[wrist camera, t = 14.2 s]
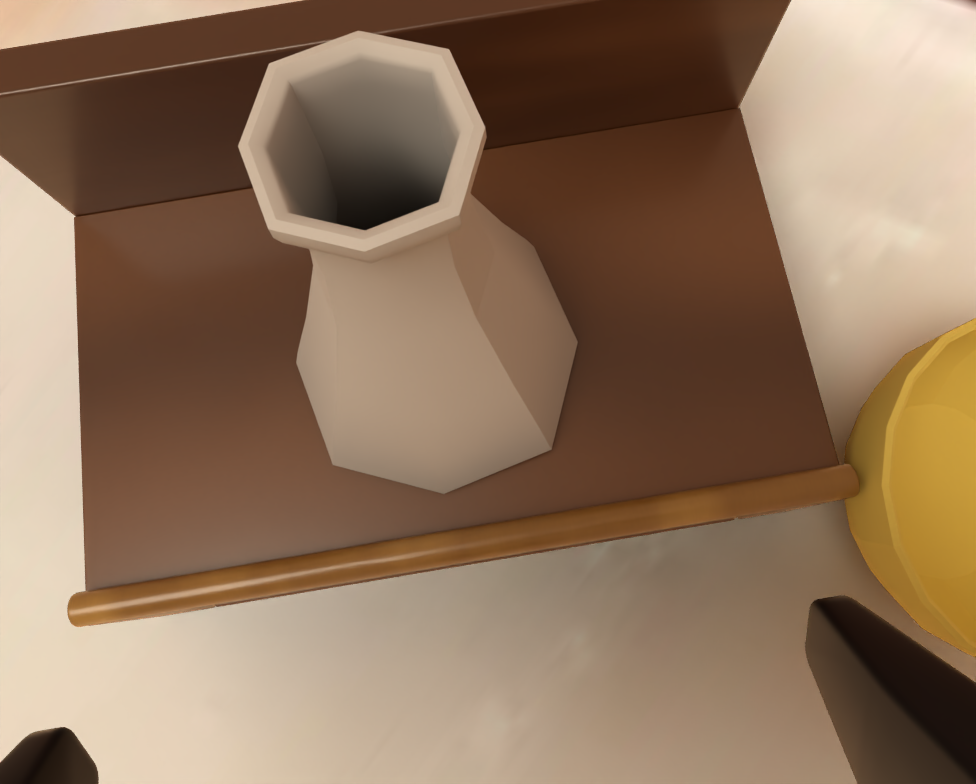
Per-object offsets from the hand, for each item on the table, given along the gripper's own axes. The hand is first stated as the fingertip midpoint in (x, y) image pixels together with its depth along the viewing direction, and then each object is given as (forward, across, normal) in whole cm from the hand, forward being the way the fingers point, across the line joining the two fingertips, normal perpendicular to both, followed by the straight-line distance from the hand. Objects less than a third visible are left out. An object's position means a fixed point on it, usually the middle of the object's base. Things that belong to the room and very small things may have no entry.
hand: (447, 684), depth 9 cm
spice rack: (+14, 0, +4) cm, 15 cm away
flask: (+11, 0, +2) cm, 11 cm away
